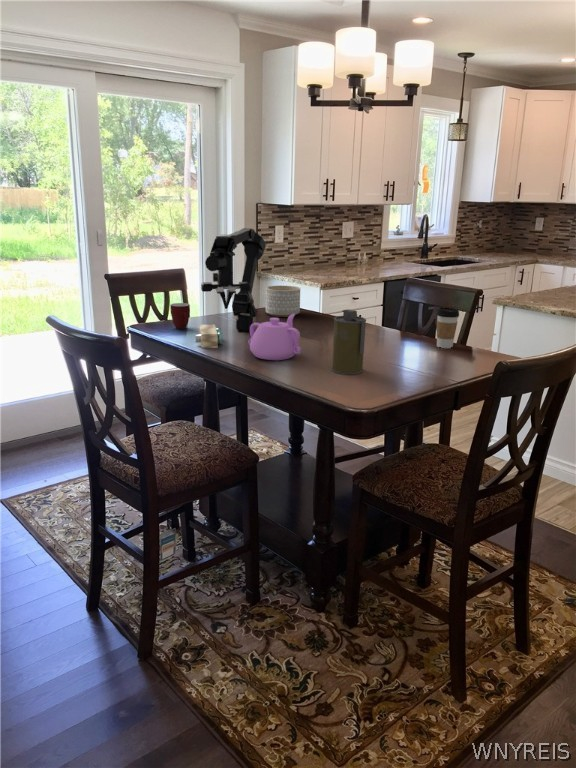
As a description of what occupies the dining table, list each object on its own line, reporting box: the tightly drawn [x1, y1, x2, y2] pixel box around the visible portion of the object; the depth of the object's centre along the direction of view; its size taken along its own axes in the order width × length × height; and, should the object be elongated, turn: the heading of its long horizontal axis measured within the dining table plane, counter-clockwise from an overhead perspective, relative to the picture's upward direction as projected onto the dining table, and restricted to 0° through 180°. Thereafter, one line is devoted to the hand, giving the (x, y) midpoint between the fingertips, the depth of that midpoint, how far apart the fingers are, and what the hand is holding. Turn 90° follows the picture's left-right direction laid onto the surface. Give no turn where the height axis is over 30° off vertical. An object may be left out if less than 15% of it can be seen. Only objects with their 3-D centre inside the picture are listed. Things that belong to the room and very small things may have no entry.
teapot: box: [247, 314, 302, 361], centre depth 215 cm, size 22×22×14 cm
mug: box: [169, 302, 191, 330], centre depth 253 cm, size 10×8×10 cm
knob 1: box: [194, 332, 223, 345], centre depth 228 cm, size 10×4×4 cm, turn 100°
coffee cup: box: [436, 306, 460, 349], centre depth 232 cm, size 8×8×15 cm
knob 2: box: [216, 327, 222, 333], centre depth 235 cm, size 8×4×4 cm, turn 100°
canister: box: [331, 308, 367, 376], centre depth 197 cm, size 11×10×20 cm
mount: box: [198, 324, 219, 349], centre depth 231 cm, size 6×17×5 cm, turn 10°
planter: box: [265, 284, 301, 318], centre depth 288 cm, size 16×16×13 cm
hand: (226, 308), depth 236 cm, fingers closed
